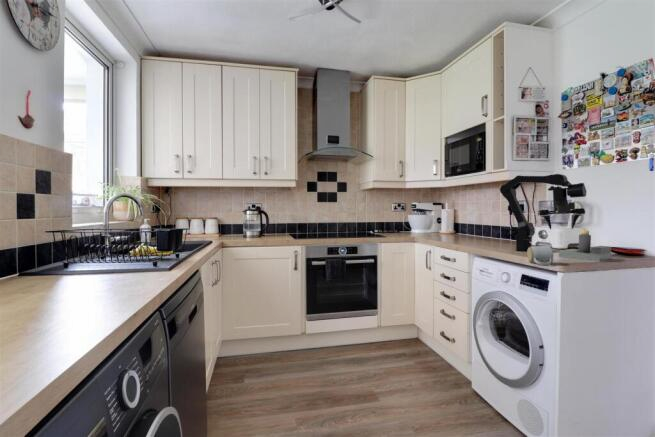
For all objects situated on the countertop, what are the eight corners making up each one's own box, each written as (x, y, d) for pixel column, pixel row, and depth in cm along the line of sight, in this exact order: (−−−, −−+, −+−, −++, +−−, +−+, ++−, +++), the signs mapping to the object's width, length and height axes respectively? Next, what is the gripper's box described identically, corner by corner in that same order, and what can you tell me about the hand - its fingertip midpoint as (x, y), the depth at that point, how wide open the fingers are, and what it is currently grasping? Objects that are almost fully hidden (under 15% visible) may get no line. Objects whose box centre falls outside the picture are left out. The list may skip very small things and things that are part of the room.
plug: (582, 258, 147) (583, 231, 147) (575, 257, 152) (576, 230, 151) (593, 258, 147) (594, 231, 146) (585, 257, 151) (586, 230, 151)
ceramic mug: (525, 261, 140) (526, 244, 140) (546, 262, 138) (547, 244, 138) (534, 265, 130) (534, 247, 130) (556, 266, 128) (557, 248, 127)
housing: (559, 256, 153) (559, 244, 153) (571, 254, 159) (571, 243, 159) (599, 261, 139) (599, 248, 139) (611, 259, 145) (611, 246, 145)
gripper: (541, 198, 157) (542, 229, 156) (588, 196, 149) (589, 228, 148) (537, 200, 167) (538, 229, 166) (580, 197, 159) (582, 228, 158)
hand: (561, 228), depth 159 cm, fingers open, 9 cm apart
